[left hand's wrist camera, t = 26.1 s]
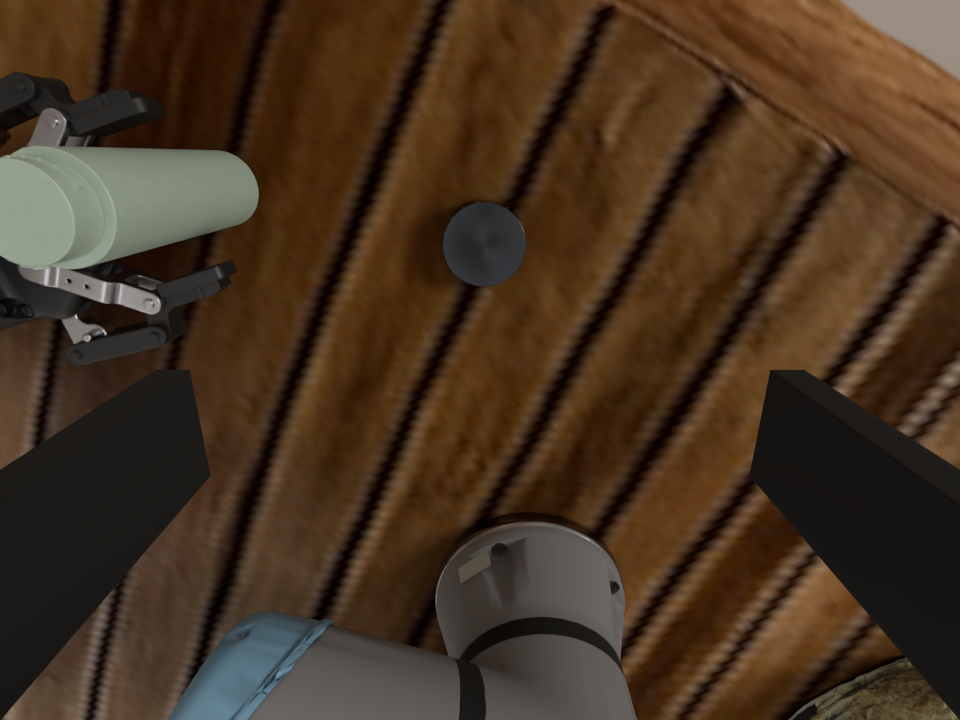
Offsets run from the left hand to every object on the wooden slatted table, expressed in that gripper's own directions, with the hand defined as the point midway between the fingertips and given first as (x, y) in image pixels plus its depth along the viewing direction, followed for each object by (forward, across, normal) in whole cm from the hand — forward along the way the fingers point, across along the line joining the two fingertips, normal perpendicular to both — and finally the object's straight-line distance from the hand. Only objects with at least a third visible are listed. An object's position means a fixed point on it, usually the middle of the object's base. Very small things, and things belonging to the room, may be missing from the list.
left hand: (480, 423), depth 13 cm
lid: (+23, 0, -1) cm, 23 cm away
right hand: (+19, +15, -4) cm, 24 cm away
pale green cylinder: (+25, +16, -4) cm, 30 cm away
